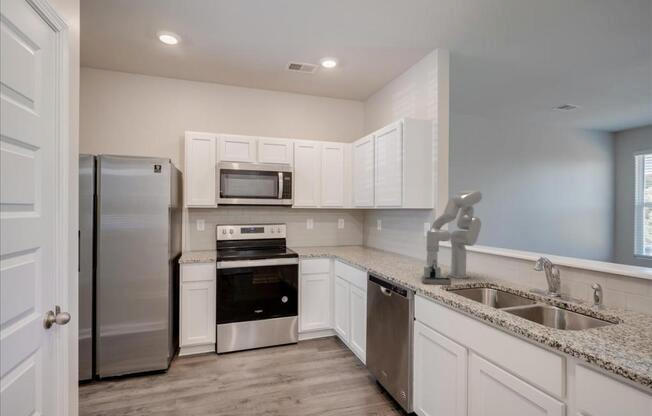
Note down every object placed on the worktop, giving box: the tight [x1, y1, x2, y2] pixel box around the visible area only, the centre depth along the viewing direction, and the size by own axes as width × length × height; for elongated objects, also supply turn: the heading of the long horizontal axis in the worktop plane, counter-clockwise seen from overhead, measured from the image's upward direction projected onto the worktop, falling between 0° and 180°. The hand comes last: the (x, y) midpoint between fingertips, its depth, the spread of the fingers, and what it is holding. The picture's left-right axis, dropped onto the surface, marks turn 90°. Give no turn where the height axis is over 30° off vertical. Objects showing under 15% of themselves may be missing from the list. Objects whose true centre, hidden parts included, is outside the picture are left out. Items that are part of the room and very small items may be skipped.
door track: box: [421, 275, 452, 286], centre depth 203 cm, size 7×16×4 cm, turn 86°
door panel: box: [423, 266, 442, 278], centre depth 213 cm, size 3×10×8 cm, turn 85°
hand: (432, 276), depth 213 cm, fingers closed on door panel, 3 cm apart
